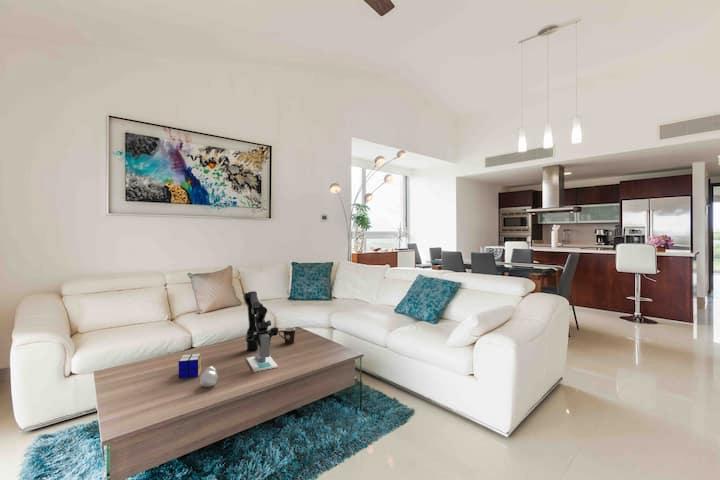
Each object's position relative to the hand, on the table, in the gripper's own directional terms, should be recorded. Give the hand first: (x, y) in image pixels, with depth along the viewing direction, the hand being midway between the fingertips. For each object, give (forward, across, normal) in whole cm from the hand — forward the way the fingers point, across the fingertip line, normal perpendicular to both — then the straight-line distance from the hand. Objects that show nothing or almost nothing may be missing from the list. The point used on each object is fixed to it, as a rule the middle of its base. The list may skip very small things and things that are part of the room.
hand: (264, 346), depth 206 cm
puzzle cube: (+2, -40, +17) cm, 43 cm away
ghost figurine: (+17, -32, +2) cm, 36 cm away
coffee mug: (-17, +26, +36) cm, 48 cm away
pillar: (+4, 0, +6) cm, 7 cm away
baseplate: (+4, 0, +14) cm, 15 cm away
